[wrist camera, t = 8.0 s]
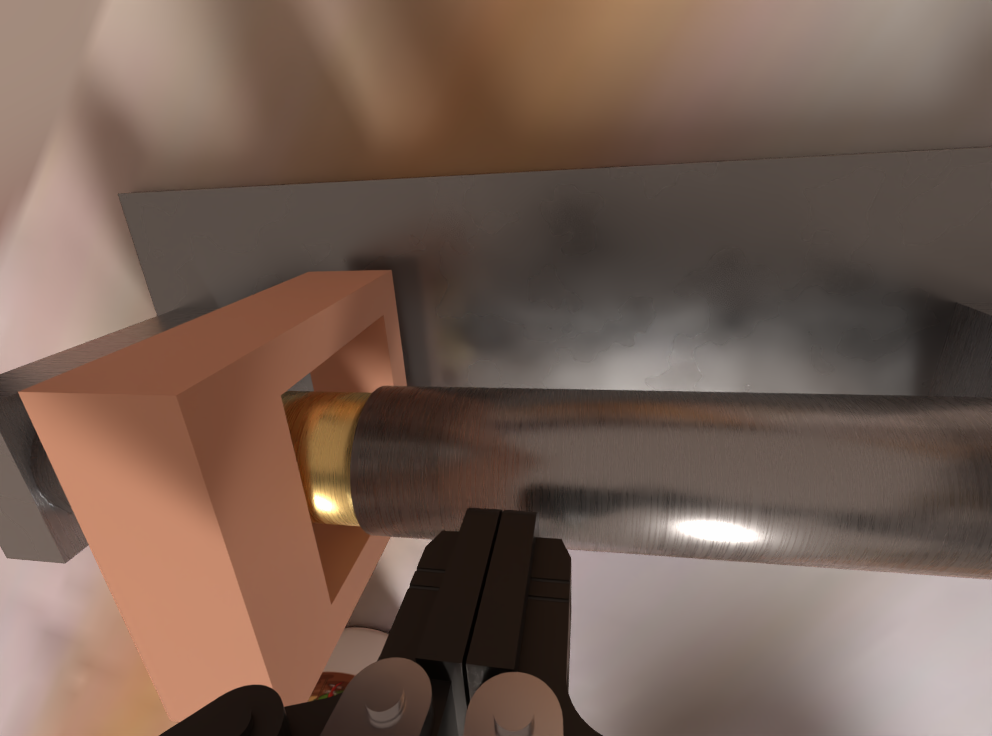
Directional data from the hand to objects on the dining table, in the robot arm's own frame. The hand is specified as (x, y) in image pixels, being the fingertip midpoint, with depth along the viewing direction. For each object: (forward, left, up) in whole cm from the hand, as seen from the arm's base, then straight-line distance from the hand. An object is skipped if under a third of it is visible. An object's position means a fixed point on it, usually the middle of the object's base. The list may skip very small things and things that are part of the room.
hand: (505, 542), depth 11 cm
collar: (+6, 0, -8) cm, 10 cm away
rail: (0, 0, -10) cm, 10 cm away
